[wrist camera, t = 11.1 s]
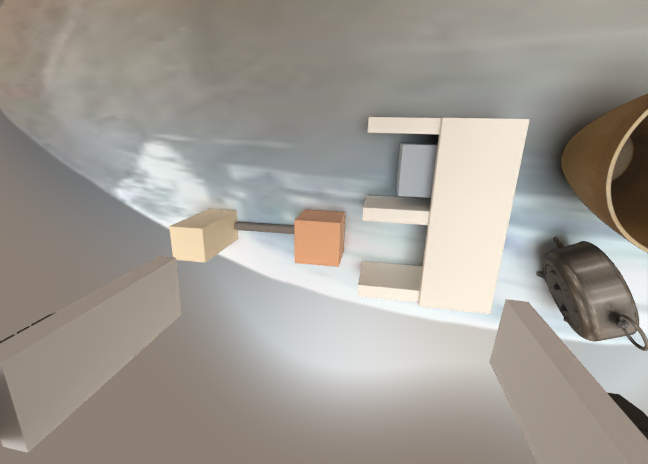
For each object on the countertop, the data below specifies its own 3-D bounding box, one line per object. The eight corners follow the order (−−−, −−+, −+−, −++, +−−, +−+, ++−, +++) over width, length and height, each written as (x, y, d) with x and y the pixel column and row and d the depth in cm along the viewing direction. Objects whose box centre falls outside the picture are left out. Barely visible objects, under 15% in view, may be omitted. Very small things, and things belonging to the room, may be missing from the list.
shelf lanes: (371, 120, 42) (368, 116, 34) (497, 122, 40) (529, 119, 31) (361, 270, 48) (357, 299, 40) (470, 280, 46) (490, 313, 38)
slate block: (400, 142, 42) (402, 144, 37) (447, 144, 41) (457, 145, 36) (396, 188, 44) (398, 195, 39) (441, 190, 43) (450, 198, 38)
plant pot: (592, 64, 36) (742, 14, 21) (697, 138, 37) (916, 142, 22) (498, 173, 41) (565, 195, 26) (591, 238, 42) (709, 297, 27)
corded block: (208, 204, 50) (168, 220, 40) (345, 212, 46) (336, 232, 37) (212, 240, 51) (174, 264, 42) (343, 251, 48) (334, 279, 39)
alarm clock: (585, 297, 44) (694, 385, 29) (543, 308, 45) (625, 397, 30) (565, 226, 42) (671, 279, 27) (521, 240, 43) (598, 298, 28)
